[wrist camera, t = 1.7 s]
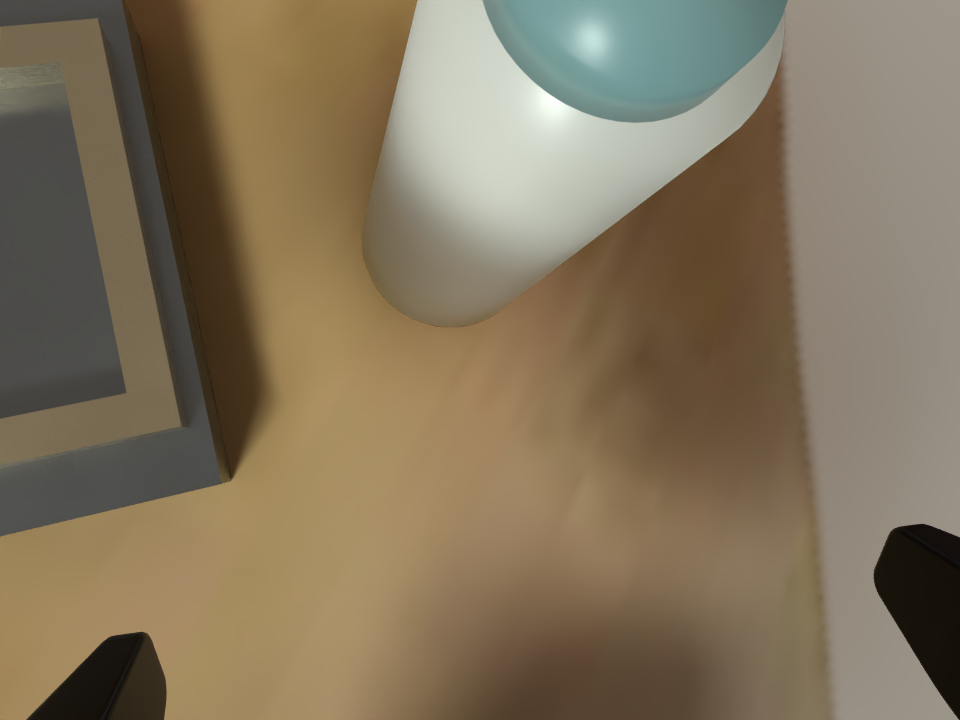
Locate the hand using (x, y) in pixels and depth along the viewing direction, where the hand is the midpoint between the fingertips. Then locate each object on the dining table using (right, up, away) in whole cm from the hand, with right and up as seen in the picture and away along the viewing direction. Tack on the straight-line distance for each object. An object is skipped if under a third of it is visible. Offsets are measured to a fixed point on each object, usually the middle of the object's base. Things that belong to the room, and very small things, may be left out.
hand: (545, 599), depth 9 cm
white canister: (-2, +6, +14) cm, 15 cm away
